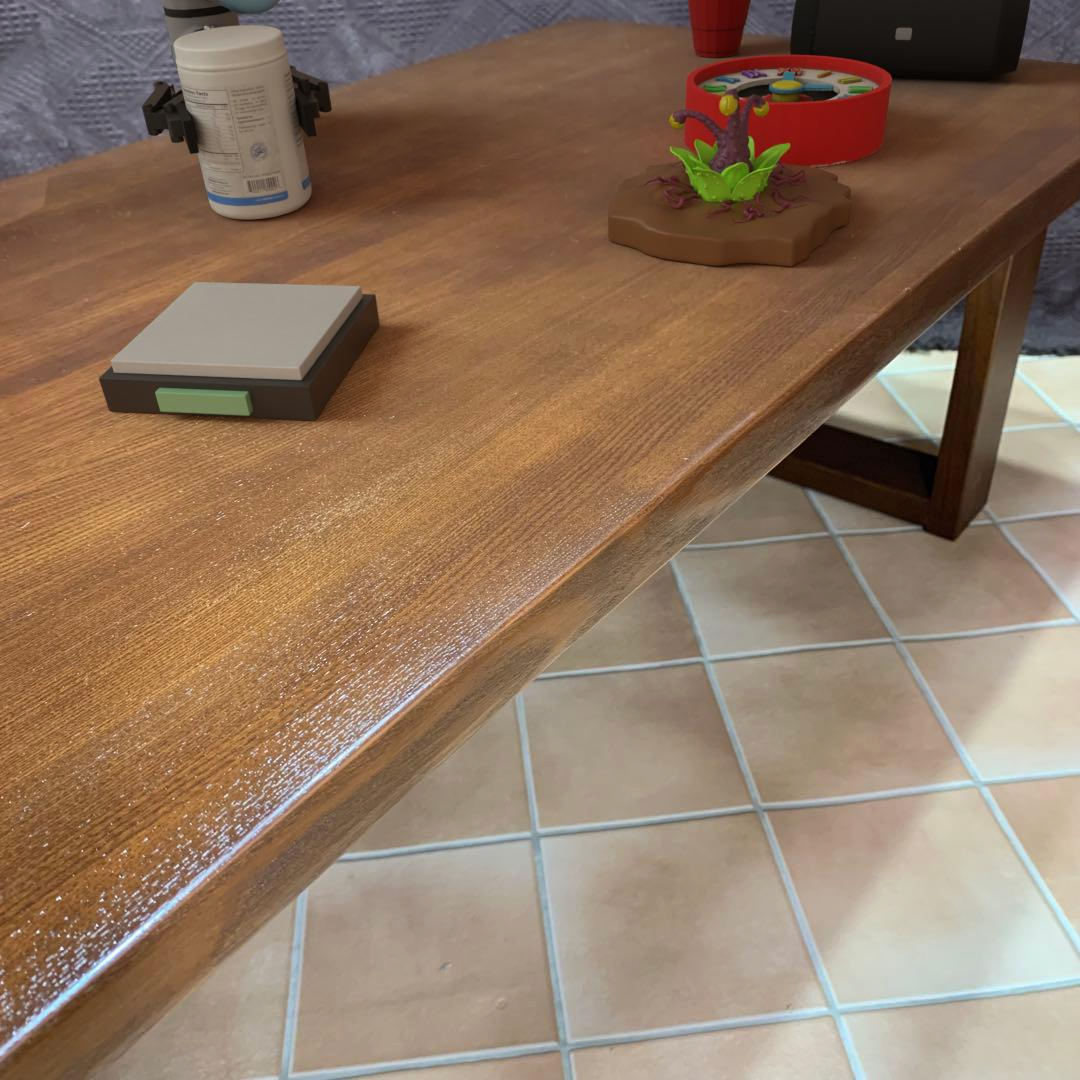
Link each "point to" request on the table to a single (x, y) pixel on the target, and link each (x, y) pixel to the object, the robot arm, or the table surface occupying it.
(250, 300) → the scale
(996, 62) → the portable speaker
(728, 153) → the plant
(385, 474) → the table surface
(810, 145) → the toy clock
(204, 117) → the supplement tub
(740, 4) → the plastic cup
